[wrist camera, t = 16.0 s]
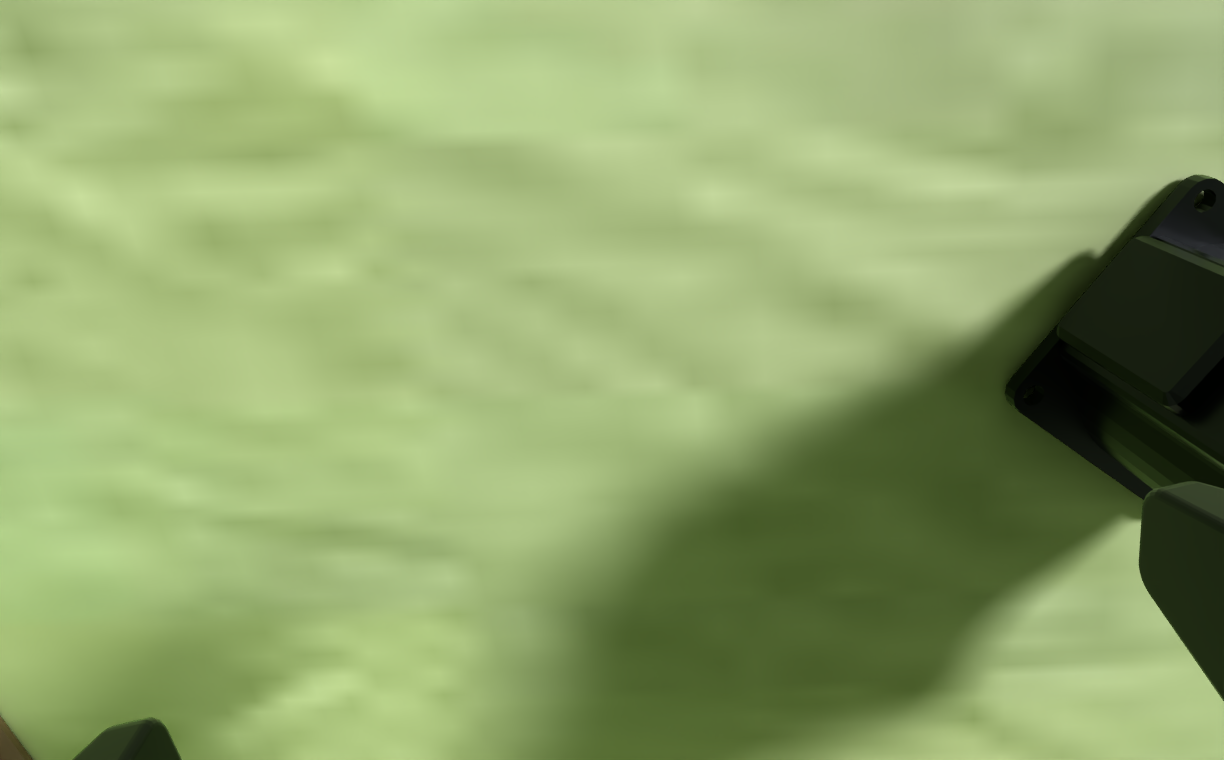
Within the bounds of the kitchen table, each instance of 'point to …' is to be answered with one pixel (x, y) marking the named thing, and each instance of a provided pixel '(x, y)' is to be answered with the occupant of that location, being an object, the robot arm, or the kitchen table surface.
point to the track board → (11, 745)
